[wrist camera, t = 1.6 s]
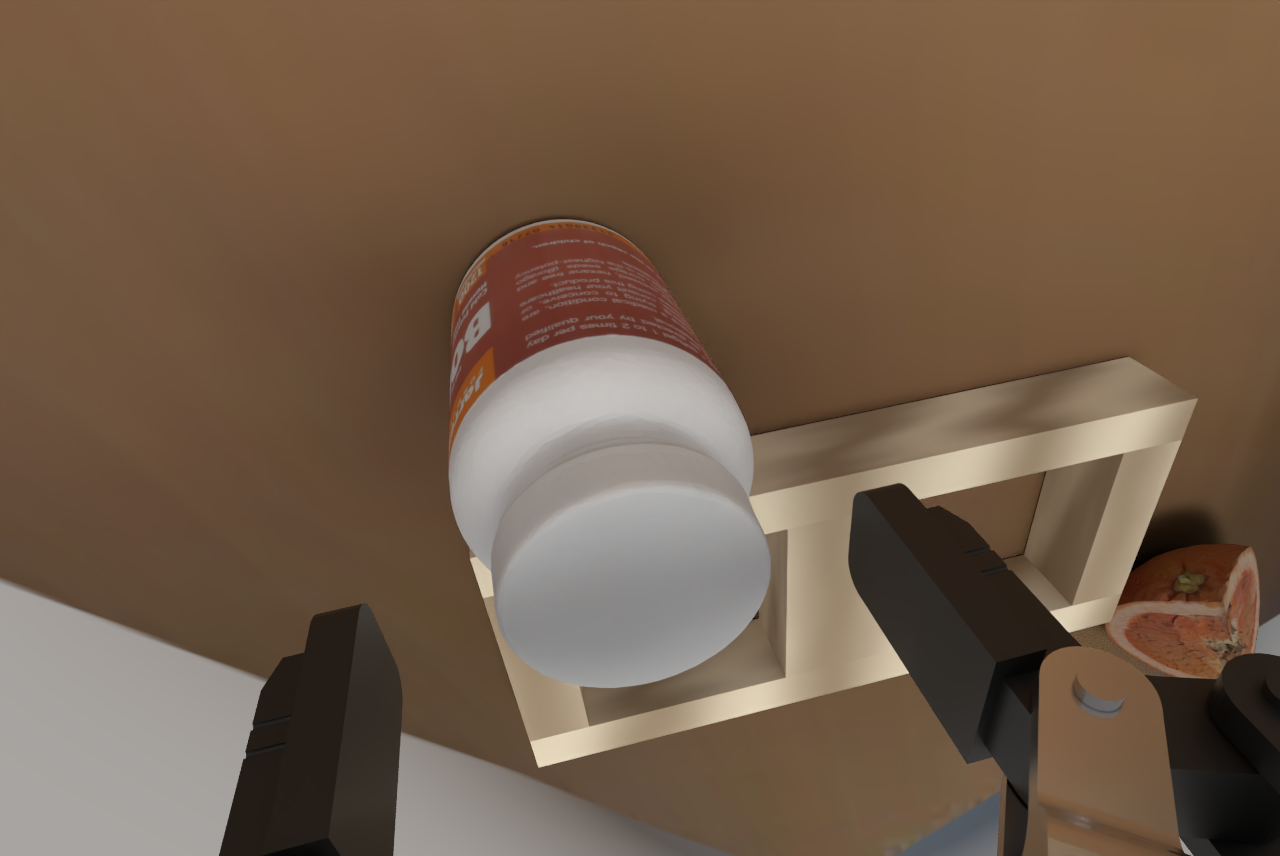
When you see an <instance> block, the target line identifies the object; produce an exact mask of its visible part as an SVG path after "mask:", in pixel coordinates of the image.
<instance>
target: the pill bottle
mask: <svg viewBox="0 0 1280 856" xmlns="http://www.w3.org/2000/svg"><path fill="white" fill-rule="evenodd" d="M753 472H754V458H753V447H752V441H751V437H750V434H749V430H748V427H747V424H746V422H745V419H744V417H743V415H742V413H741V411H740V409H739V407H738V405H737V403H736V401H735V399H734V397H733V395H732V393H731V391H730V389H729V388H728V386H727V384H726V383H725V381H724V380H723V378H722V376H721V375H720V373H719V372H718V370H717V368H716V367H715V365H714V363H713V362H712V360H711V358H710V357H709V355H708V354H707V352H706V350H705V349H704V347H703V346H702V344H701V342H700V341H699V339H698V338H697V336H696V334H695V333H694V331H693V330H692V328H691V326H690V325H689V323H688V321H687V320H686V318H685V316H684V315H683V313H682V312H681V310H680V308H679V307H678V305H677V303H676V302H675V300H674V298H673V297H672V295H671V293H670V292H669V290H668V288H667V287H666V285H665V283H664V282H663V280H662V278H661V276H660V275H659V273H658V272H657V270H656V268H655V267H654V266H653V265H652V263H651V262H650V261H649V259H648V258H647V257H646V256H645V255H644V254H643V252H641V251H640V250H639V249H638V248H637V247H636V246H635V245H634V244H633V243H632V242H630V241H629V240H627V239H626V238H625V237H623V236H622V235H620V234H618V233H617V232H615V231H613V230H610V229H608V228H606V227H603V226H601V225H598V224H595V223H591V222H587V221H581V220H571V219H557V220H547V221H542V222H537V223H533V224H530V225H527V226H524V227H521V228H519V229H517V230H514V231H512V232H511V233H509V234H507V235H505V236H504V237H502V238H500V239H499V240H497V241H496V242H495V243H493V244H492V245H491V246H490V247H488V248H487V249H486V250H485V251H484V252H483V253H482V254H481V255H480V256H479V257H478V258H477V259H476V261H475V262H474V263H473V264H472V266H471V267H470V269H469V270H468V271H467V273H466V275H465V277H464V278H463V280H462V283H461V285H460V287H459V289H458V292H457V295H456V299H455V303H454V308H453V315H452V326H451V371H450V412H449V484H450V497H451V504H452V509H453V513H454V516H455V520H456V522H457V525H458V527H459V530H460V532H461V534H462V536H463V538H464V540H465V541H466V543H467V544H468V546H469V548H470V549H471V550H472V552H473V553H474V554H475V555H476V557H477V558H478V559H479V560H480V561H481V562H482V563H483V564H484V565H485V566H486V568H488V569H489V570H490V571H491V574H492V584H493V593H494V605H495V613H496V618H497V622H498V626H499V629H500V631H501V634H502V636H503V637H504V639H505V641H506V643H507V644H508V646H509V647H510V649H511V650H512V651H513V652H514V653H515V654H516V655H517V656H518V657H519V658H520V659H521V660H522V661H523V662H524V663H526V664H527V665H528V666H530V667H531V668H533V669H534V670H536V671H537V672H539V673H541V674H542V675H544V676H547V677H549V678H553V679H555V680H558V681H561V682H564V683H568V684H572V685H576V686H584V687H596V688H619V687H627V686H636V685H641V684H647V683H651V682H655V681H659V680H662V679H665V678H668V677H671V676H674V675H677V674H679V673H682V672H684V671H686V670H688V669H690V668H693V667H695V666H697V665H699V664H700V663H702V662H704V661H705V660H707V659H709V658H710V657H712V656H714V655H715V654H717V653H718V652H719V651H721V650H722V649H724V648H725V647H726V646H727V645H729V644H730V643H731V642H732V641H733V640H734V639H735V638H736V637H737V636H738V635H739V634H740V633H741V632H742V631H743V630H744V629H745V628H746V627H747V625H748V624H749V623H750V621H751V620H752V619H753V617H754V616H755V614H756V613H757V611H758V610H759V608H760V606H761V604H762V602H763V600H764V597H765V595H766V592H767V589H768V586H769V581H770V576H771V553H770V549H769V546H768V542H767V539H766V536H765V534H764V531H763V529H762V527H761V525H760V523H759V521H758V519H757V517H756V515H755V513H754V511H753V509H752V506H751V503H750V501H749V495H750V491H751V486H752V481H753Z"/></svg>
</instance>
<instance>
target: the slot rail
mask: <svg viewBox="0 0 1280 856" xmlns="http://www.w3.org/2000/svg"><path fill="white" fill-rule="evenodd" d="M1197 400H1198V398H1197V397H1196V396H1194V395H1192V394H1191V393H1189V392H1187V391H1186V390H1184V389H1182V388H1181V387H1179V386H1177V385H1175V384H1174V383H1172V382H1170V381H1169V380H1167V379H1165V378H1164V377H1162V376H1160V375H1159V374H1157V373H1155V372H1154V371H1152V370H1150V369H1149V368H1147V367H1145V366H1144V365H1142V364H1140V363H1139V362H1137V361H1135V360H1134V359H1132V358H1130V357H1125V358H1121V359H1116V360H1111V361H1106V362H1102V363H1097V364H1092V365H1087V366H1083V367H1078V368H1073V369H1068V370H1064V371H1059V372H1054V373H1049V374H1045V375H1040V376H1035V377H1030V378H1025V379H1021V380H1016V381H1011V382H1006V383H1002V384H997V385H992V386H987V387H983V388H978V389H973V390H968V391H964V392H959V393H954V394H949V395H945V396H940V397H935V398H930V399H925V400H921V401H916V402H911V403H906V404H902V405H897V406H892V407H887V408H883V409H878V410H873V411H868V412H864V413H859V414H854V415H849V416H845V417H840V418H835V419H830V420H826V421H821V422H816V423H811V424H806V425H802V426H797V427H792V428H787V429H783V430H778V431H773V432H768V433H764V434H759V435H754V436H750V437H751V441H752V447H753V458H754V472H753V481H752V486H751V491H750V495H749V501H750V503H751V506H752V509H753V511H754V513H755V515H756V517H757V519H758V521H759V523H760V525H761V527H762V529H763V531H764V534H765V536H766V539H767V542H768V546H769V549H770V553H771V576H770V581H769V586H768V589H767V592H766V595H765V597H764V600H763V602H762V604H761V606H760V608H759V618H758V619H754V620H751V621H750V623H749V624H748V625H747V627H746V628H745V629H744V630H743V631H742V632H741V633H740V634H739V635H738V636H737V637H736V638H735V639H734V640H733V641H732V642H731V643H730V644H729V645H727V646H726V647H725V648H724V649H722V650H721V651H719V652H718V653H717V654H715V655H714V656H712V657H710V658H709V659H707V660H705V661H704V662H702V663H700V664H699V665H697V666H695V667H693V668H690V669H688V670H686V671H684V672H682V673H679V674H677V675H674V676H671V677H668V678H665V679H662V680H659V681H655V682H651V683H647V684H641V685H636V686H627V687H619V688H596V687H584V686H576V685H572V684H568V683H564V682H561V681H558V680H555V679H553V678H549V677H547V676H544V675H542V674H541V673H539V672H537V671H536V670H534V669H533V668H531V667H530V666H528V665H527V664H526V663H524V662H523V661H522V660H521V659H520V658H519V657H518V656H517V655H516V654H515V653H514V652H513V651H512V650H511V649H510V647H509V646H508V644H507V643H506V641H505V639H504V637H503V636H502V634H501V631H500V629H499V626H498V622H497V618H496V613H495V605H494V593H493V584H492V574H491V571H490V570H489V569H488V568H486V566H485V565H484V564H483V563H482V562H481V561H480V560H479V559H478V558H477V557H476V555H475V554H474V553H473V552H472V550H471V549H470V560H471V563H472V566H473V569H474V572H475V575H476V578H477V581H478V584H479V588H480V591H481V594H482V597H483V600H484V603H485V606H486V609H487V612H488V615H489V618H490V621H491V624H492V627H493V630H494V633H495V636H496V639H497V642H498V645H499V648H500V651H501V654H502V658H503V661H504V664H505V667H506V670H507V673H508V676H509V679H510V682H511V685H512V688H513V691H514V694H515V697H516V700H517V703H518V706H519V709H520V712H521V715H522V718H523V721H524V724H525V727H526V731H527V734H528V737H529V740H530V743H531V746H532V749H533V752H534V755H535V758H536V761H537V764H538V767H543V766H547V765H551V764H555V763H559V762H562V761H566V760H570V759H574V758H578V757H582V756H586V755H590V754H594V753H598V752H602V751H606V750H610V749H613V748H617V747H621V746H625V745H629V744H633V743H637V742H641V741H645V740H649V739H653V738H657V737H661V736H664V735H668V734H672V733H676V732H680V731H684V730H688V729H692V728H696V727H700V726H704V725H708V724H712V723H715V722H719V721H723V720H727V719H731V718H735V717H739V716H743V715H747V714H751V713H755V712H759V711H763V710H766V709H770V708H774V707H778V706H782V705H786V704H790V703H794V702H798V701H802V700H806V699H810V698H814V697H817V696H821V695H825V694H829V693H833V692H837V691H841V690H845V689H849V688H853V687H857V686H861V685H865V684H868V683H872V682H876V681H880V680H884V679H888V678H892V677H896V676H900V675H904V674H908V673H909V672H908V671H907V669H906V668H905V666H904V664H903V663H902V661H901V660H900V658H899V657H898V655H897V653H896V652H895V650H894V649H893V647H892V646H891V644H890V643H889V641H888V639H887V638H886V636H885V635H884V633H883V632H882V630H881V628H880V627H879V625H878V624H877V622H876V621H875V619H874V618H873V616H872V614H871V613H870V611H869V610H868V608H867V607H866V605H865V603H864V602H863V600H862V599H861V597H860V596H859V594H858V592H857V590H856V588H855V586H854V584H853V581H852V578H851V575H850V570H849V565H848V551H849V540H850V529H851V518H852V507H853V499H854V496H855V495H856V493H858V492H861V491H866V490H870V489H875V488H879V487H883V486H888V485H892V484H896V483H902V484H904V485H906V486H907V487H908V488H909V489H910V490H911V491H912V493H913V494H914V495H915V496H916V497H917V498H918V500H919V499H923V498H928V497H932V496H937V495H941V494H945V493H950V492H954V491H959V490H963V489H968V488H972V487H976V486H981V485H985V484H990V483H994V482H998V481H1003V480H1007V479H1012V478H1016V477H1021V476H1025V475H1029V474H1034V473H1038V472H1043V471H1046V475H1045V478H1044V482H1043V486H1042V489H1041V493H1040V497H1039V501H1038V504H1037V508H1036V512H1035V515H1034V519H1033V523H1032V526H1031V530H1030V534H1029V538H1028V541H1027V545H1026V549H1025V552H1024V555H1021V556H1016V557H1012V558H1008V559H1004V560H1003V561H1004V562H1005V563H1006V564H1007V568H1008V570H1012V571H1013V572H1014V573H1015V574H1016V575H1017V576H1018V578H1019V579H1020V580H1021V581H1022V582H1023V583H1024V584H1025V585H1026V586H1027V587H1028V589H1029V590H1030V591H1031V592H1032V593H1033V594H1034V595H1035V596H1036V597H1037V598H1038V599H1039V601H1040V602H1041V603H1042V604H1043V605H1044V606H1045V607H1046V608H1047V609H1048V610H1049V612H1050V613H1051V614H1052V615H1053V616H1054V617H1055V618H1056V619H1057V620H1058V621H1059V622H1060V624H1061V625H1062V626H1063V627H1064V628H1065V629H1066V630H1067V631H1068V632H1072V631H1076V630H1080V629H1084V628H1088V627H1092V626H1096V625H1100V624H1104V623H1108V622H1111V619H1112V617H1113V614H1114V612H1115V609H1116V607H1117V604H1118V602H1119V599H1120V596H1121V594H1122V591H1123V589H1124V586H1125V584H1126V581H1127V579H1128V576H1129V573H1130V571H1131V568H1132V566H1133V563H1134V561H1135V558H1136V556H1137V553H1138V551H1139V548H1140V545H1141V543H1142V540H1143V538H1144V535H1145V533H1146V530H1147V528H1148V525H1149V522H1150V520H1151V517H1152V515H1153V512H1154V510H1155V507H1156V505H1157V502H1158V499H1159V497H1160V494H1161V492H1162V489H1163V487H1164V484H1165V482H1166V479H1167V477H1168V474H1169V471H1170V469H1171V466H1172V464H1173V461H1174V459H1175V456H1176V454H1177V451H1178V448H1179V446H1180V443H1181V441H1182V438H1183V436H1184V433H1185V431H1186V428H1187V425H1188V423H1189V420H1190V418H1191V415H1192V413H1193V410H1194V408H1195V405H1196V402H1197Z"/></svg>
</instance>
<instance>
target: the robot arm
mask: <svg viewBox="0 0 1280 856" xmlns="http://www.w3.org/2000/svg"><path fill="white" fill-rule="evenodd" d="M848 565H849V570H850V575H851V578H852V581H853V584H854V586H855V588H856V590H857V592H858V594H859V596H860V597H861V599H862V600H863V602H864V603H865V605H866V607H867V608H868V610H869V611H870V613H871V614H872V616H873V618H874V619H875V621H876V622H877V624H878V625H879V627H880V628H881V630H882V632H883V633H884V635H885V636H886V638H887V639H888V641H889V643H890V644H891V646H892V647H893V649H894V650H895V652H896V653H897V655H898V657H899V658H900V660H901V661H902V663H903V664H904V666H905V668H906V669H907V671H908V672H909V674H910V675H911V677H912V678H913V680H914V682H915V683H916V685H917V686H918V688H919V689H920V691H921V693H922V694H923V696H924V697H925V699H926V700H927V702H928V703H929V705H930V707H931V708H932V710H933V711H934V713H935V714H936V716H937V717H938V719H939V721H940V722H941V724H942V725H943V727H944V728H945V730H946V732H947V733H948V735H949V736H950V738H951V739H952V741H953V742H954V744H955V746H956V747H957V749H958V750H959V752H960V753H961V755H962V757H963V758H964V760H965V761H966V763H967V764H969V763H973V762H976V761H980V760H983V759H987V758H990V757H993V758H994V759H995V761H996V762H997V764H998V765H999V767H1000V768H1001V770H1002V771H1003V773H1004V775H1003V778H1002V784H1001V798H1000V815H999V833H998V851H997V856H1190V855H1187V854H1185V853H1184V851H1183V849H1182V847H1181V843H1180V839H1179V837H1180V838H1181V840H1182V841H1183V842H1184V843H1185V845H1186V846H1187V847H1188V849H1189V850H1190V851H1191V853H1192V854H1193V855H1194V856H1280V657H1279V656H1275V655H1270V654H1261V653H1250V654H1243V655H1240V656H1236V657H1234V658H1233V659H1231V660H1229V661H1228V662H1227V663H1226V665H1225V666H1224V668H1223V669H1222V671H1221V673H1220V675H1219V677H1218V678H1217V679H1205V678H1182V677H1160V676H1148V675H1144V674H1142V673H1141V672H1140V671H1139V670H1138V669H1137V668H1135V667H1134V666H1133V665H1131V664H1130V663H1128V662H1127V661H1125V660H1123V659H1121V658H1119V657H1118V656H1115V655H1113V654H1111V653H1108V652H1106V651H1102V650H1099V649H1095V648H1090V647H1082V646H1081V645H1080V644H1079V643H1078V642H1077V641H1076V640H1075V639H1074V638H1073V637H1072V636H1071V635H1070V633H1069V632H1068V631H1067V630H1066V629H1065V628H1064V627H1063V626H1062V625H1061V624H1060V622H1059V621H1058V620H1057V619H1056V618H1055V617H1054V616H1053V615H1052V614H1051V613H1050V612H1049V610H1048V609H1047V608H1046V607H1045V606H1044V605H1043V604H1042V603H1041V602H1040V601H1039V599H1038V598H1037V597H1036V596H1035V595H1034V594H1033V593H1032V592H1031V591H1030V590H1029V589H1028V587H1027V586H1026V585H1025V584H1024V583H1023V582H1022V581H1021V580H1020V579H1019V578H1018V576H1017V575H1016V574H1015V573H1014V572H1013V571H1012V570H1008V568H1007V564H1006V563H1005V562H1004V561H1003V560H1002V559H1001V558H1000V557H999V556H998V555H997V554H996V552H995V551H991V550H990V546H989V545H988V544H987V543H986V541H985V540H984V539H983V538H982V537H981V536H980V535H979V534H978V533H977V532H976V531H975V529H974V528H973V527H972V526H971V525H970V524H969V523H968V522H966V521H964V520H963V519H961V518H959V517H957V516H956V515H954V514H952V513H951V512H949V511H947V510H945V509H944V508H942V507H940V506H936V507H932V508H927V509H926V508H925V506H924V505H923V504H922V503H921V502H920V501H919V500H918V498H917V497H916V496H915V495H914V494H913V493H912V491H911V490H910V489H909V488H908V487H907V486H906V485H904V484H902V483H896V484H892V485H888V486H883V487H879V488H875V489H870V490H866V491H861V492H858V493H856V495H855V496H854V499H853V507H852V518H851V529H850V540H849V551H848ZM401 720H402V688H401V681H400V676H399V672H398V668H397V665H396V663H395V661H394V658H393V656H392V654H391V652H390V650H389V647H388V645H387V643H386V641H385V639H384V636H383V634H382V632H381V630H380V628H379V625H378V623H377V621H376V619H375V617H374V615H373V612H372V610H371V608H370V607H369V606H368V605H367V604H365V603H364V604H360V605H355V606H351V607H346V608H342V609H338V610H333V611H329V612H325V613H320V614H316V615H315V616H314V617H313V618H312V620H311V624H310V628H309V633H308V637H307V642H306V647H305V652H304V653H301V654H297V655H293V656H289V657H284V658H282V660H281V661H280V663H279V664H278V666H277V667H276V669H275V670H274V672H273V673H272V675H271V676H270V678H269V679H268V681H267V682H266V684H265V685H264V687H263V688H262V690H261V693H260V697H259V701H258V704H257V708H256V712H255V716H254V720H253V730H252V731H251V732H250V736H249V740H248V744H247V748H246V751H245V752H246V759H244V760H243V763H242V767H241V771H240V775H239V779H238V783H237V787H236V791H235V795H234V799H233V803H232V806H231V810H230V815H229V819H228V823H227V826H226V830H225V835H224V838H223V842H222V846H221V850H220V854H219V856H393V850H394V833H395V817H396V800H397V784H398V768H399V751H400V736H401Z"/></svg>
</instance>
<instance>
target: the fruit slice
mask: <svg viewBox="0 0 1280 856" xmlns="http://www.w3.org/2000/svg"><path fill="white" fill-rule="evenodd" d="M1259 611H1260V585H1259V574H1258V568H1257V562H1256V557H1255V555H1254V552H1253V550H1252V547H1248V546H1241V545H1234V544H1207V545H1195V546H1189V547H1185V548H1180V549H1176V550H1172V551H1169V552H1166V553H1163V554H1161V555H1158V556H1156V557H1154V558H1152V559H1150V560H1148V561H1147V562H1145V563H1144V564H1142V565H1141V566H1139V567H1137V568H1136V569H1135V570H1134V571H1133V572H1131V573H1130V574H1129V576H1128V579H1127V581H1126V584H1125V586H1124V589H1123V591H1122V594H1121V596H1120V599H1119V602H1118V604H1117V607H1116V609H1115V612H1114V614H1113V617H1112V619H1111V622H1108V623H1105V628H1106V632H1107V634H1108V636H1109V638H1110V639H1111V640H1112V641H1113V642H1114V643H1115V644H1116V645H1117V646H1118V647H1119V648H1121V649H1122V650H1124V651H1125V652H1126V653H1128V654H1129V655H1131V656H1133V657H1134V658H1136V659H1138V660H1139V661H1141V662H1143V663H1144V664H1146V665H1147V666H1149V667H1151V668H1153V669H1156V670H1158V671H1160V672H1162V673H1164V674H1167V675H1170V676H1173V677H1182V678H1205V679H1217V678H1218V677H1219V675H1220V673H1221V671H1222V669H1223V668H1224V666H1225V665H1226V663H1227V662H1228V661H1229V660H1231V659H1233V658H1234V657H1236V656H1240V655H1243V654H1250V653H1255V647H1256V640H1257V633H1258V628H1259Z"/></svg>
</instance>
